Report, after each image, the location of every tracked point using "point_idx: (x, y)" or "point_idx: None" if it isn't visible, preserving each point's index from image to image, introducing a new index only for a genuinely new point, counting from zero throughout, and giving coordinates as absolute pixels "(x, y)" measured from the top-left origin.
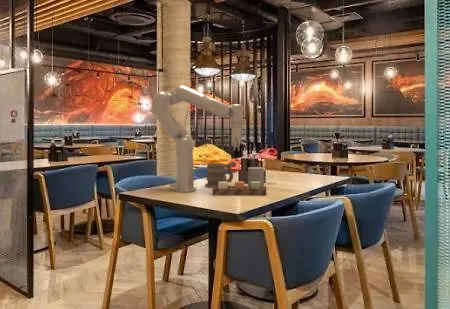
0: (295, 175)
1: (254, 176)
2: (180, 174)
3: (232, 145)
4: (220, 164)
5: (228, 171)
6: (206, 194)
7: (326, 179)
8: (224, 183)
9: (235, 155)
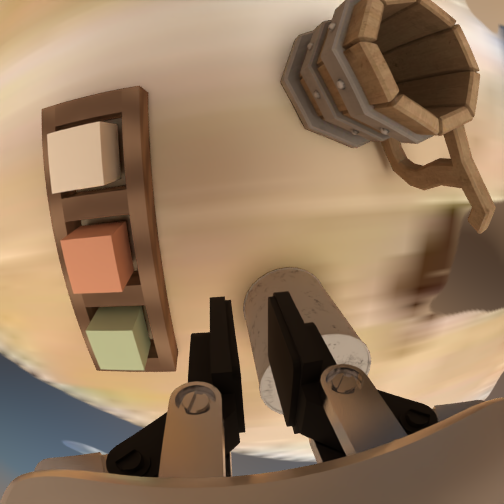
0: (493, 367)
1: (253, 347)
2: None
3: (81, 475)
4: (462, 100)
5: (433, 161)
6: (80, 73)
7: None
8: (52, 174)
9: (190, 342)
